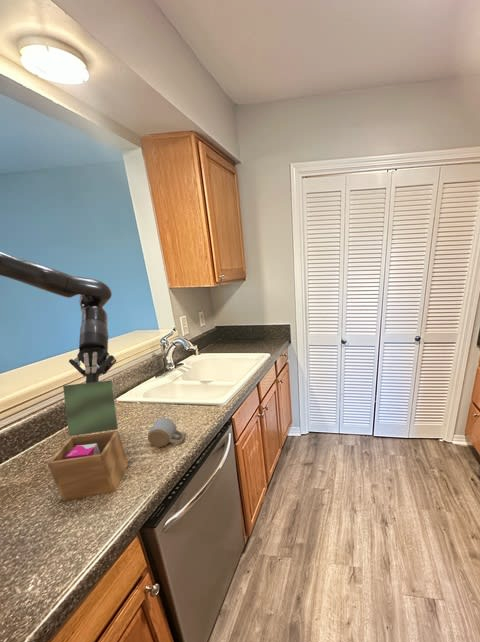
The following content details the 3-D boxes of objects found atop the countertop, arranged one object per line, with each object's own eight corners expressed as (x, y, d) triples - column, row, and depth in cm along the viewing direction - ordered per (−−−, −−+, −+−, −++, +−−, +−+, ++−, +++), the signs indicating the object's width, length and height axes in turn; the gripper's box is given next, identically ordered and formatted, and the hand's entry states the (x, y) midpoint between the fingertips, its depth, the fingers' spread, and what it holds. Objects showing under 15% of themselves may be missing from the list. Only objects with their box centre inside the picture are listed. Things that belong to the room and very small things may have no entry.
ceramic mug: (149, 449, 108) (144, 429, 105) (156, 437, 116) (152, 418, 113) (181, 447, 109) (177, 426, 106) (186, 435, 116) (183, 416, 114)
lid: (111, 380, 94) (112, 380, 95) (62, 385, 91) (64, 385, 92) (117, 429, 93) (118, 429, 94) (68, 436, 91) (70, 435, 92)
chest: (116, 495, 87) (103, 455, 82) (64, 505, 84) (47, 463, 79) (129, 467, 99) (118, 430, 94) (83, 474, 96) (70, 437, 91)
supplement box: (88, 479, 93) (76, 444, 88) (110, 477, 93) (98, 442, 89) (78, 492, 88) (64, 456, 83) (100, 489, 88) (88, 454, 84)
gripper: (64, 332, 97) (60, 383, 91) (112, 328, 100) (111, 378, 93) (76, 346, 104) (73, 394, 98) (121, 341, 106) (121, 389, 100)
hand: (92, 386), depth 95 cm, fingers closed
